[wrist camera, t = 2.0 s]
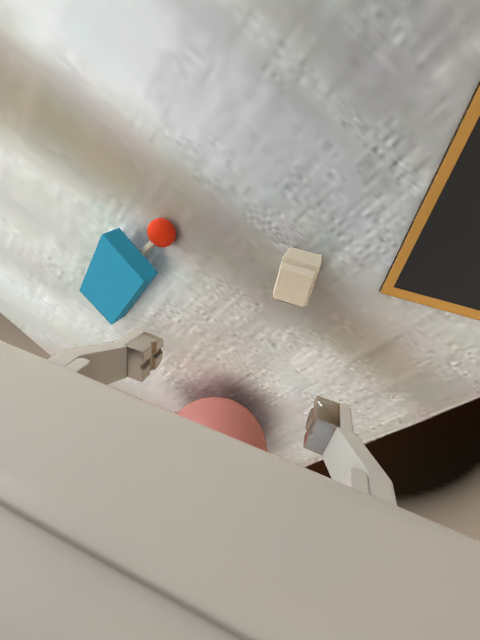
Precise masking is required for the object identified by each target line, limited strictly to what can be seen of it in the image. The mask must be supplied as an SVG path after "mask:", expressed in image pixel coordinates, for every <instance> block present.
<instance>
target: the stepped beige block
mask: <svg viewBox="0 0 480 640" xmlns="http://www.w3.org/2000/svg"><path fill="white" fill-rule="evenodd" d="M321 261H322V255H320V254H316V253H312V252H308V251H304V250H301V249H297V248H293V247H290V248H289V249H288V250H287V252H286V253H285V254H284V256H283V257H282V261H281V265H280V268H279V272H278V276H277V280H276V283H275V287H274V291H273V294H272V295H273V298H274V299H277V300H280V301H283V302H287V303H290V304H293V305H297V306H301V307H304V306H307V304H308V302H309V299H310V296H311V293H312V290H313V287H314V284H315V281H316V278H317V276H318V273H319V270H320V267H321Z"/></svg>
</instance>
